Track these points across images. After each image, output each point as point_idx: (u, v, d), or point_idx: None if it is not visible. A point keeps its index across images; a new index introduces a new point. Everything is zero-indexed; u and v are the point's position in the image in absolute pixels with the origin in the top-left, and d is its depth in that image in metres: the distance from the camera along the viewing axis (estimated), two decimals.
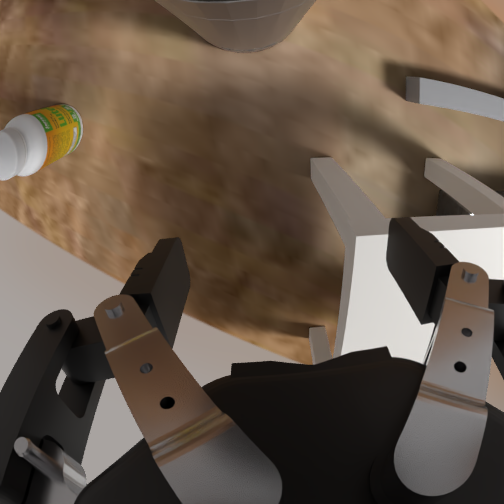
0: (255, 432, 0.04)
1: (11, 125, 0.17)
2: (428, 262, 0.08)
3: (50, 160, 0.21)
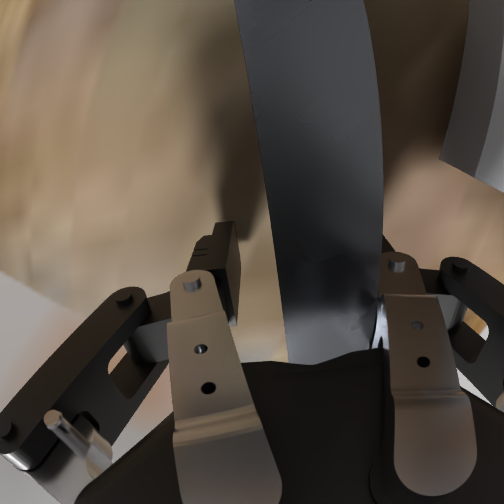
0: None
1: None
2: None
3: None
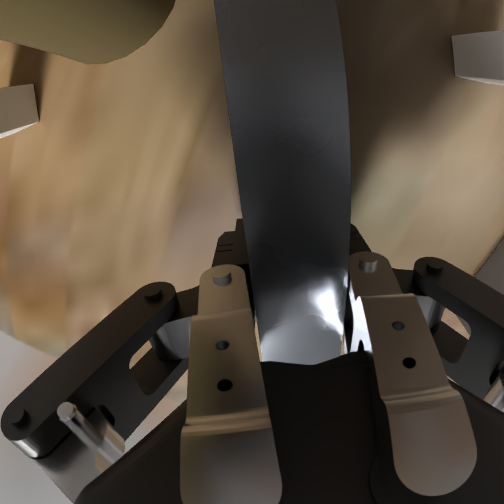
0: None
1: None
2: None
3: None
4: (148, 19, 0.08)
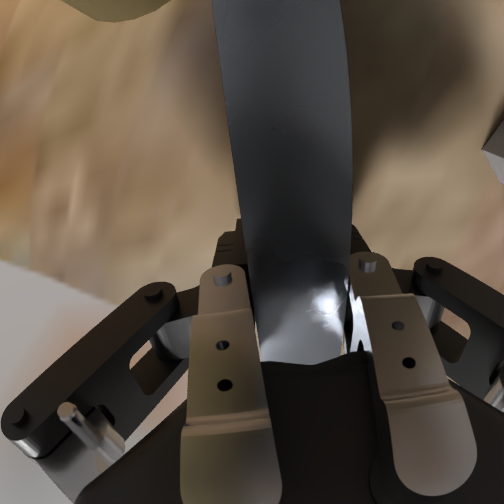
0: None
1: None
2: None
3: None
4: None
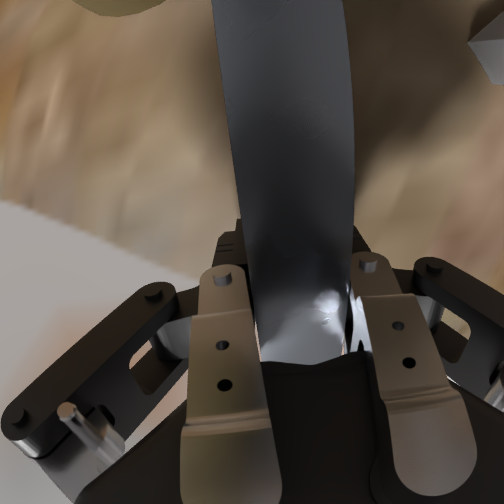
0: None
1: None
2: None
3: None
4: None
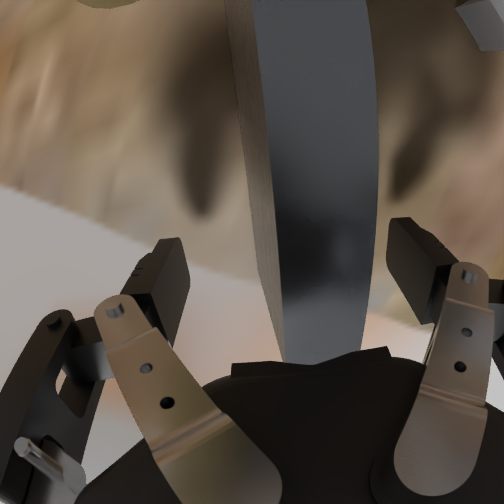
0: (255, 432, 0.04)
1: None
2: (428, 262, 0.08)
3: None
4: None
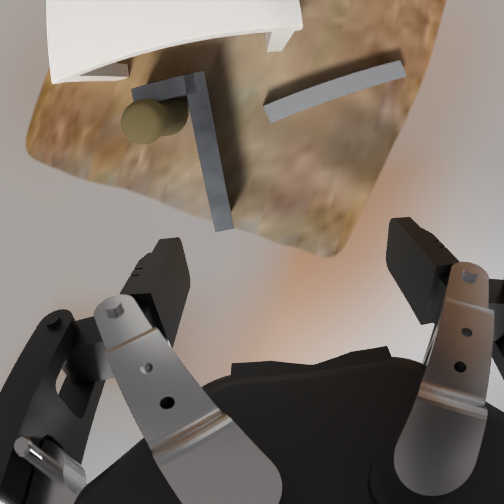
0: (255, 432, 0.04)
1: None
2: (428, 262, 0.08)
3: None
4: (182, 123, 0.38)
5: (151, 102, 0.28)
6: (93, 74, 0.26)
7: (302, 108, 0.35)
